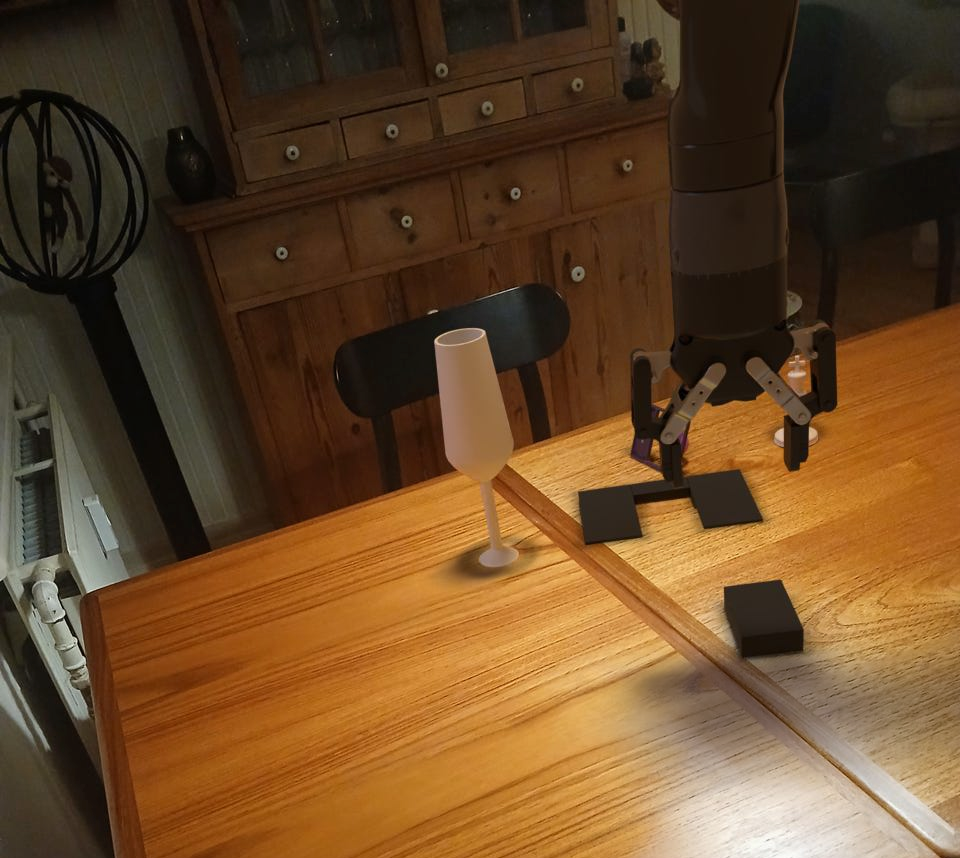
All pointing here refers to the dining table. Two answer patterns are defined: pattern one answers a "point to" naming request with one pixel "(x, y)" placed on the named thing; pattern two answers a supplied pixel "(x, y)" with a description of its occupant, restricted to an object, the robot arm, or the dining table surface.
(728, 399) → the robot arm
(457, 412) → the champagne flute
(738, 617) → the small pad
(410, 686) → the dining table surface
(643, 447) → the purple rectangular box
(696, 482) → the notched mat
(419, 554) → the dining table surface
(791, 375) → the chess piece
